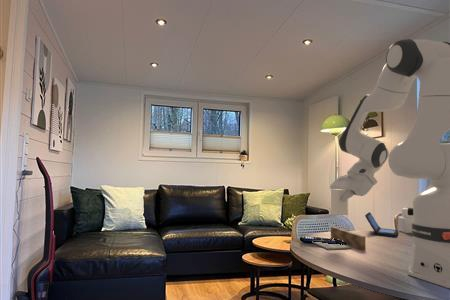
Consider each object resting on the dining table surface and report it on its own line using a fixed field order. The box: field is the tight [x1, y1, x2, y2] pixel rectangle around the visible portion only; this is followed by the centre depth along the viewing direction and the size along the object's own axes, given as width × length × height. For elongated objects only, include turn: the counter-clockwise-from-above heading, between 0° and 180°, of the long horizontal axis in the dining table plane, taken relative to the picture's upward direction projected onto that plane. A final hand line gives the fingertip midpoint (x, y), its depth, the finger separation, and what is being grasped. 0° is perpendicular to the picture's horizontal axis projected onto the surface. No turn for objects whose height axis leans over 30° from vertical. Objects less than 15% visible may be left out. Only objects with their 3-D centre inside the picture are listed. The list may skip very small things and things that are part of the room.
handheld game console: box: [364, 212, 399, 238], centre depth 153 cm, size 16×13×9 cm
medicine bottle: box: [397, 207, 413, 234], centre depth 158 cm, size 7×7×12 cm
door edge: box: [330, 226, 366, 251], centre depth 129 cm, size 20×2×5 cm, turn 14°
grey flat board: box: [311, 239, 352, 251], centre depth 125 cm, size 12×10×1 cm
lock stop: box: [330, 188, 349, 216], centre depth 127 cm, size 4×4×10 cm
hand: (337, 199), depth 127 cm, fingers closed on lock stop, 4 cm apart
